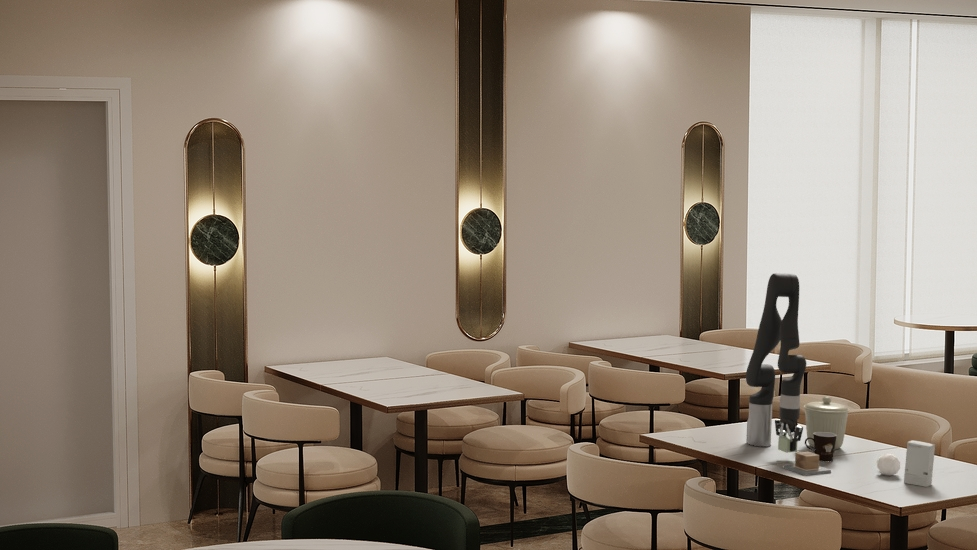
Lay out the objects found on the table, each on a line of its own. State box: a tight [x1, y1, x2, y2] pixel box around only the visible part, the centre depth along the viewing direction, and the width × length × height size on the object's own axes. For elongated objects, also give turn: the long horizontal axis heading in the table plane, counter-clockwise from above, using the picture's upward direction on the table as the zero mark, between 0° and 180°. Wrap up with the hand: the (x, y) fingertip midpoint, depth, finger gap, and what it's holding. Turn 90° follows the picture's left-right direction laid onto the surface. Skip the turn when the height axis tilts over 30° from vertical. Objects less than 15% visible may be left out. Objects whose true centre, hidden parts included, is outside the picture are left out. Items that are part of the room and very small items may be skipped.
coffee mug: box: [804, 432, 837, 463], centre depth 394 cm, size 12×9×10 cm
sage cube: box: [777, 435, 799, 454], centre depth 391 cm, size 5×5×5 cm
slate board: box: [782, 463, 832, 476], centre depth 376 cm, size 12×12×1 cm
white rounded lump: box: [876, 453, 901, 476], centre depth 373 cm, size 8×8×12 cm
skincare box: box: [903, 440, 936, 488], centre depth 359 cm, size 8×6×15 cm
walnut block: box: [794, 451, 820, 470], centre depth 376 cm, size 6×6×5 cm
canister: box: [803, 396, 851, 451], centre depth 415 cm, size 18×18×21 cm
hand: (787, 449), depth 392 cm, fingers closed on sage cube, 5 cm apart
